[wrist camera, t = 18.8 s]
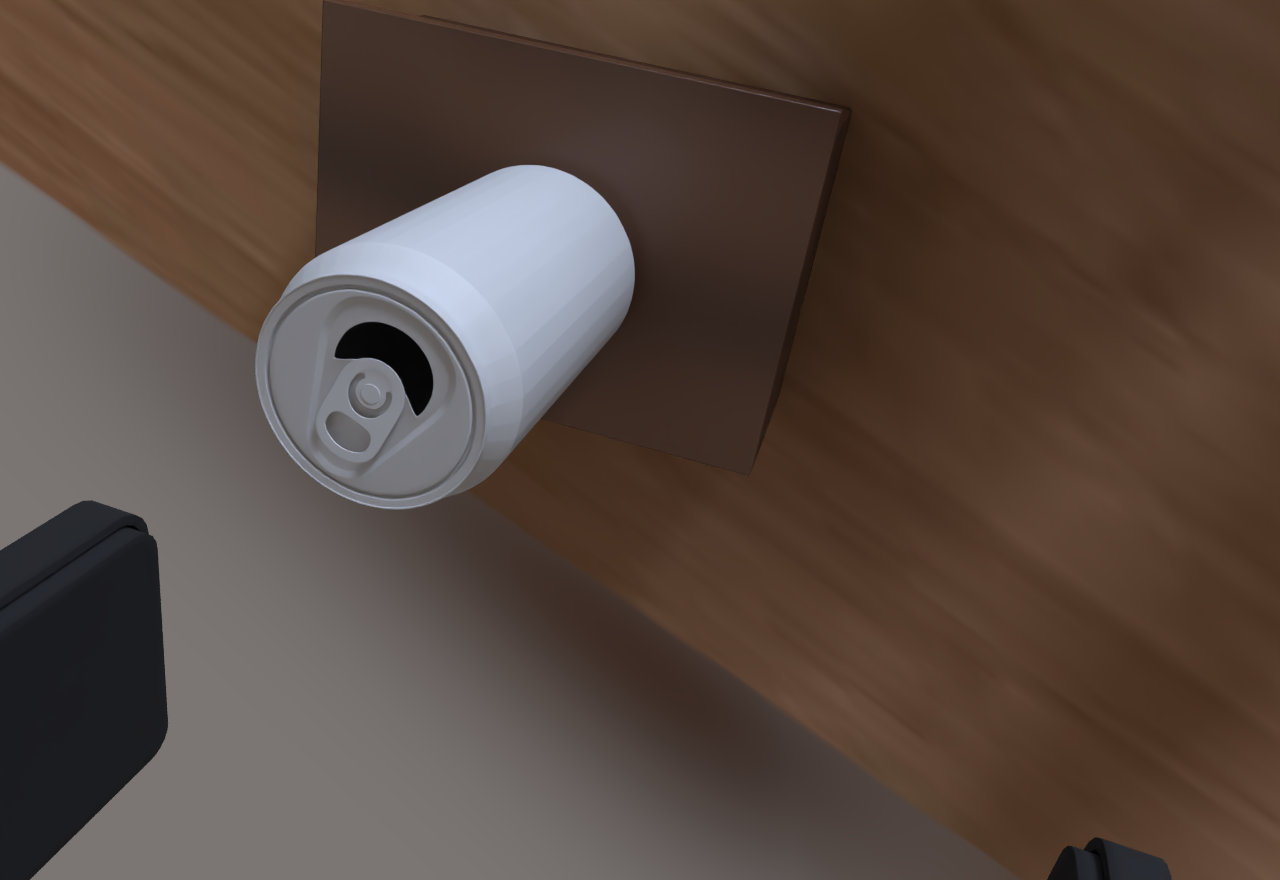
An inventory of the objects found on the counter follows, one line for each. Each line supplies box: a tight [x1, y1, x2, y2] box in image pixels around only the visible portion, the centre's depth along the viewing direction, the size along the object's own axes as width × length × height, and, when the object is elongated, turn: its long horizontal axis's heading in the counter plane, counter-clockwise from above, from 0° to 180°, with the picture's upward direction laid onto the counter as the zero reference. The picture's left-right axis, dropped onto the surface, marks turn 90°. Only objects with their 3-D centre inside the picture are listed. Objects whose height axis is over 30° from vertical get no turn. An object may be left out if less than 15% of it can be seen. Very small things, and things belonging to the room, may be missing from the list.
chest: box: [418, 15, 852, 463], centre depth 37 cm, size 11×16×7 cm
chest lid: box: [315, 0, 843, 476], centre depth 34 cm, size 12×16×1 cm
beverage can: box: [255, 165, 635, 510], centre depth 28 cm, size 6×6×12 cm
